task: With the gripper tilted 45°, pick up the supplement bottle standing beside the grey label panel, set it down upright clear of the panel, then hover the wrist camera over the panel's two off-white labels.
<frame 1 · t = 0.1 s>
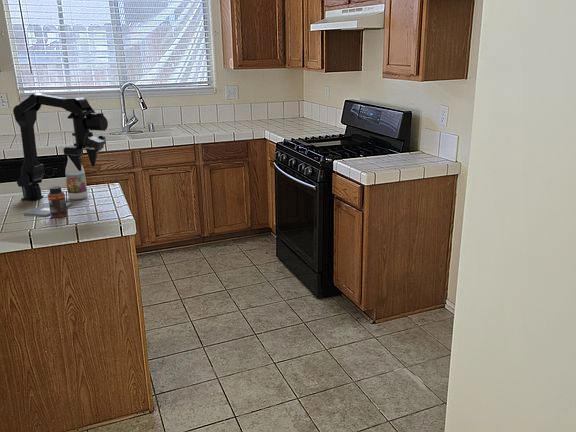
hand: (86, 168, 208), 15 cm above the table, tool pointing down, fingers open, 9 cm apart
milk bottle: (78, 198, 220), on the table
supplement bottle: (59, 216, 195), on the table
label panel: (49, 209, 202), on the table
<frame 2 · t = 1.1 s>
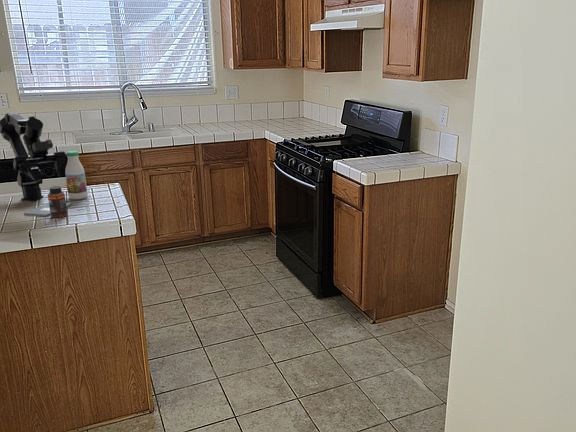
hand: (47, 178, 196), 13 cm above the table, tool tilted 45°, fingers open, 9 cm apart
nothing on the table moved.
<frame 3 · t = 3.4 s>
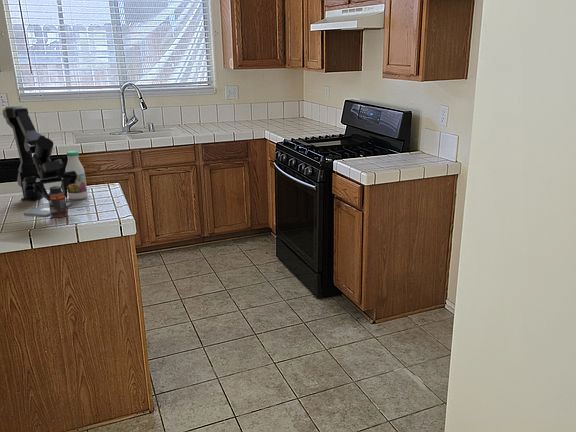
hand: (58, 198, 192), 7 cm above the table, tool tilted 45°, fingers closed on supplement bottle, 6 cm apart
supplement bottle: (59, 216, 195), on the table, touching gripper
everything else where it was.
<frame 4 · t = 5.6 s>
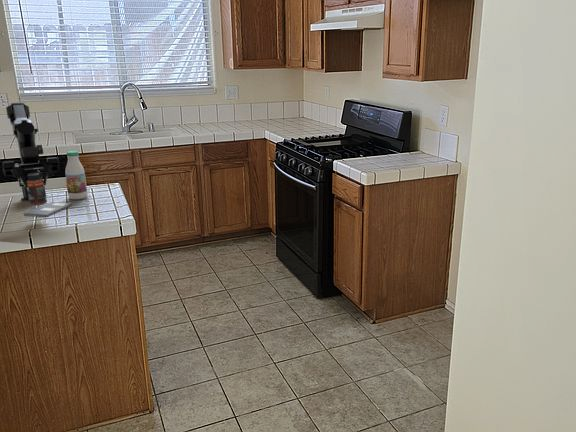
hand: (35, 185, 185), 13 cm above the table, tool tilted 45°, fingers closed on supplement bottle, 6 cm apart
supplement bottle: (38, 204, 189), point 6 cm above the table, touching gripper
everything else where it was.
when the fingers open (7 cm above the table, at t = 7.7 s): supplement bottle stays where it is, on the table.
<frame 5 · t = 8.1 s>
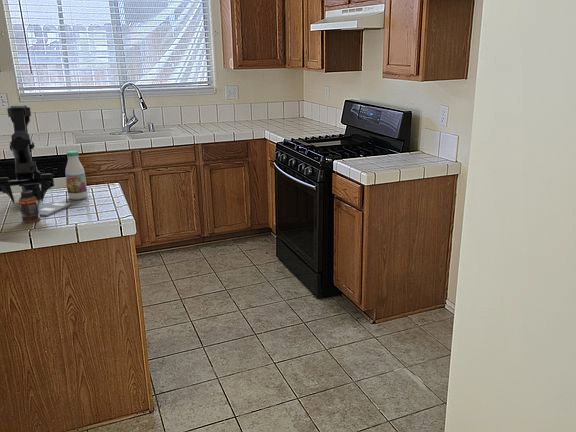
hand: (28, 201, 185), 8 cm above the table, tool tilted 45°, fingers open, 9 cm apart
supplement bottle: (31, 221, 189), on the table
everything else where it was.
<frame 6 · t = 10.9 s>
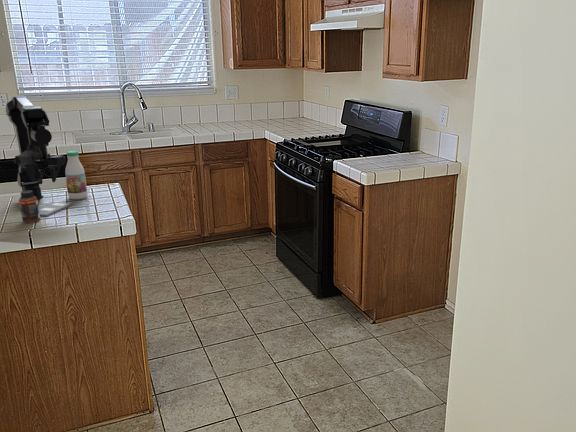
hand: (43, 181, 197), 12 cm above the table, tool pointing down, fingers open, 9 cm apart
nothing on the table moved.
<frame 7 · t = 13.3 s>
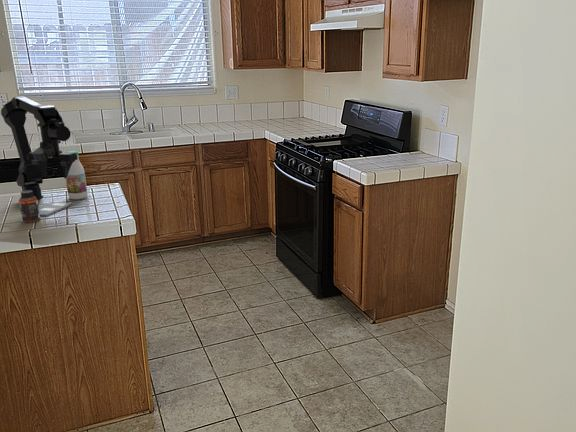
hand: (55, 177, 203), 12 cm above the table, tool pointing down, fingers open, 9 cm apart
nothing on the table moved.
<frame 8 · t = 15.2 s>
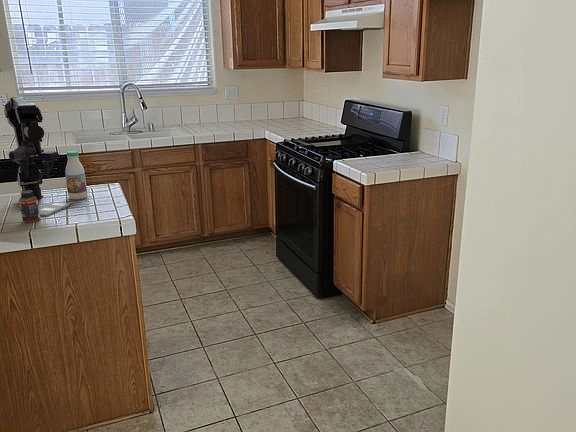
hand: (37, 176, 200), 13 cm above the table, tool pointing down, fingers open, 9 cm apart
nothing on the table moved.
at the end: supplement bottle inside the target area (0.5 cm from its centre), on the table; supplement bottle tilted 0°; supplement bottle touching table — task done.
